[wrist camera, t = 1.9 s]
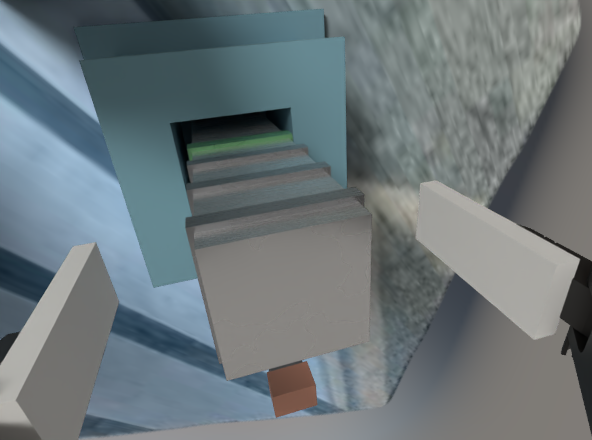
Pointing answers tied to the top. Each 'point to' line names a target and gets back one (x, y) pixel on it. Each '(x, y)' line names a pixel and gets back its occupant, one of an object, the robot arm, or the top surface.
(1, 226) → the top surface
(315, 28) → the stand base
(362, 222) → the column
